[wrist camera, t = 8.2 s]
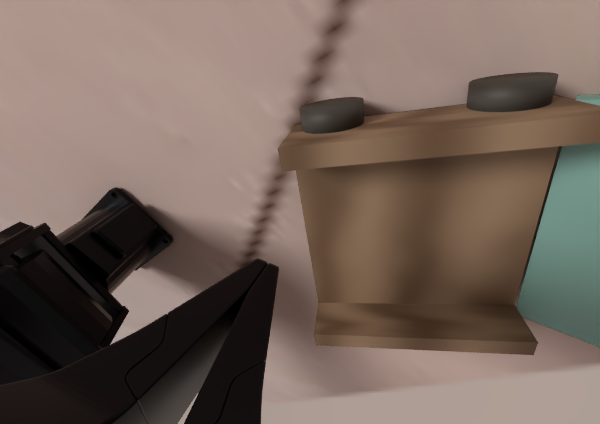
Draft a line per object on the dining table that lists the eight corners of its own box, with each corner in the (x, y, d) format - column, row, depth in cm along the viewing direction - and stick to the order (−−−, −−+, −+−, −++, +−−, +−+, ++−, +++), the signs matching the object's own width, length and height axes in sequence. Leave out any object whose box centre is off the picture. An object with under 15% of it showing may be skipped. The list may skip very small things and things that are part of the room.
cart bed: (324, 300, 26) (318, 355, 22) (293, 104, 18) (272, 124, 14) (494, 302, 23) (529, 366, 19) (548, 68, 15) (634, 77, 11)
